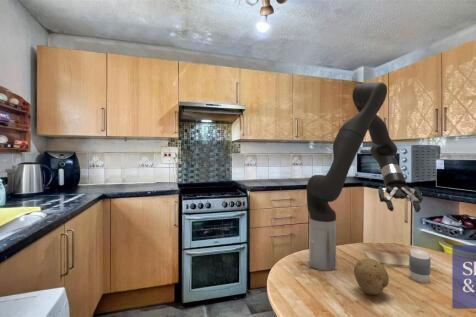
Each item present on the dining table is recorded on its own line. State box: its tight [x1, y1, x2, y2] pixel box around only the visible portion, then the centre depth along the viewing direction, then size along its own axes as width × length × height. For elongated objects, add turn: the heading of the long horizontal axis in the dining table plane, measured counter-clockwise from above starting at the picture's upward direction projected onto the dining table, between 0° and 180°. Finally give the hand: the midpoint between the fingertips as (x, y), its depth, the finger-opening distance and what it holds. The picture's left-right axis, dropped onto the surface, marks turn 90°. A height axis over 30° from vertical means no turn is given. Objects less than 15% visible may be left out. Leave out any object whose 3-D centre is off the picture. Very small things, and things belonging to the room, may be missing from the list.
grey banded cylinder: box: [408, 248, 432, 284], centre depth 81 cm, size 6×6×9 cm
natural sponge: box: [353, 257, 390, 296], centre depth 72 cm, size 9×9×10 cm
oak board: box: [363, 250, 436, 271], centre depth 94 cm, size 20×11×1 cm, turn 76°
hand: (404, 210), depth 92 cm, fingers open, 8 cm apart
